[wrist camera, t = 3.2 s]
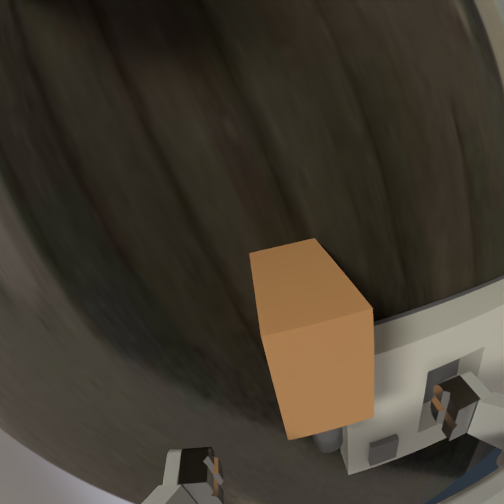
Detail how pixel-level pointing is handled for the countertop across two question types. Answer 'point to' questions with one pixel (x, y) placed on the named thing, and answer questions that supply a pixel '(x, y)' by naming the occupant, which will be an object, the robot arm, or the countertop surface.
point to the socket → (426, 371)
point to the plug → (314, 341)
